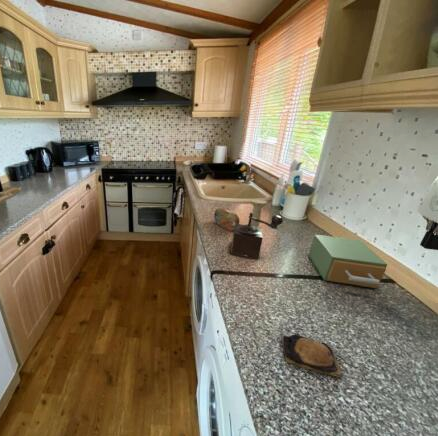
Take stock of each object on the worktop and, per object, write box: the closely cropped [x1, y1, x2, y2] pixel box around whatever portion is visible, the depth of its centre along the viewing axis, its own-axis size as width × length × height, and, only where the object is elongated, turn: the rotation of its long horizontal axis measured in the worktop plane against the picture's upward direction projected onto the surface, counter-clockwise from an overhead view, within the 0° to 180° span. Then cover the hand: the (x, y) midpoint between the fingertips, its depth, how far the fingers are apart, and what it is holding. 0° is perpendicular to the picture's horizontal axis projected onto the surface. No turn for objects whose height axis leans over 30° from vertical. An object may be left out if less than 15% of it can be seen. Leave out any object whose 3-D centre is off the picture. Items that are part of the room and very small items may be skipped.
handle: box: [250, 199, 267, 227], centre depth 112 cm, size 5×6×15 cm
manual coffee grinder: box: [230, 212, 284, 260], centre depth 94 cm, size 16×11×18 cm
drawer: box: [327, 259, 387, 289], centre depth 81 cm, size 20×13×7 cm, turn 164°
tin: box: [213, 208, 241, 231], centre depth 118 cm, size 15×3×8 cm, turn 25°
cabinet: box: [308, 234, 388, 289], centre depth 85 cm, size 17×15×9 cm
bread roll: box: [280, 333, 343, 378], centre depth 55 cm, size 11×8×4 cm
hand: (429, 247), depth 59 cm, fingers closed
